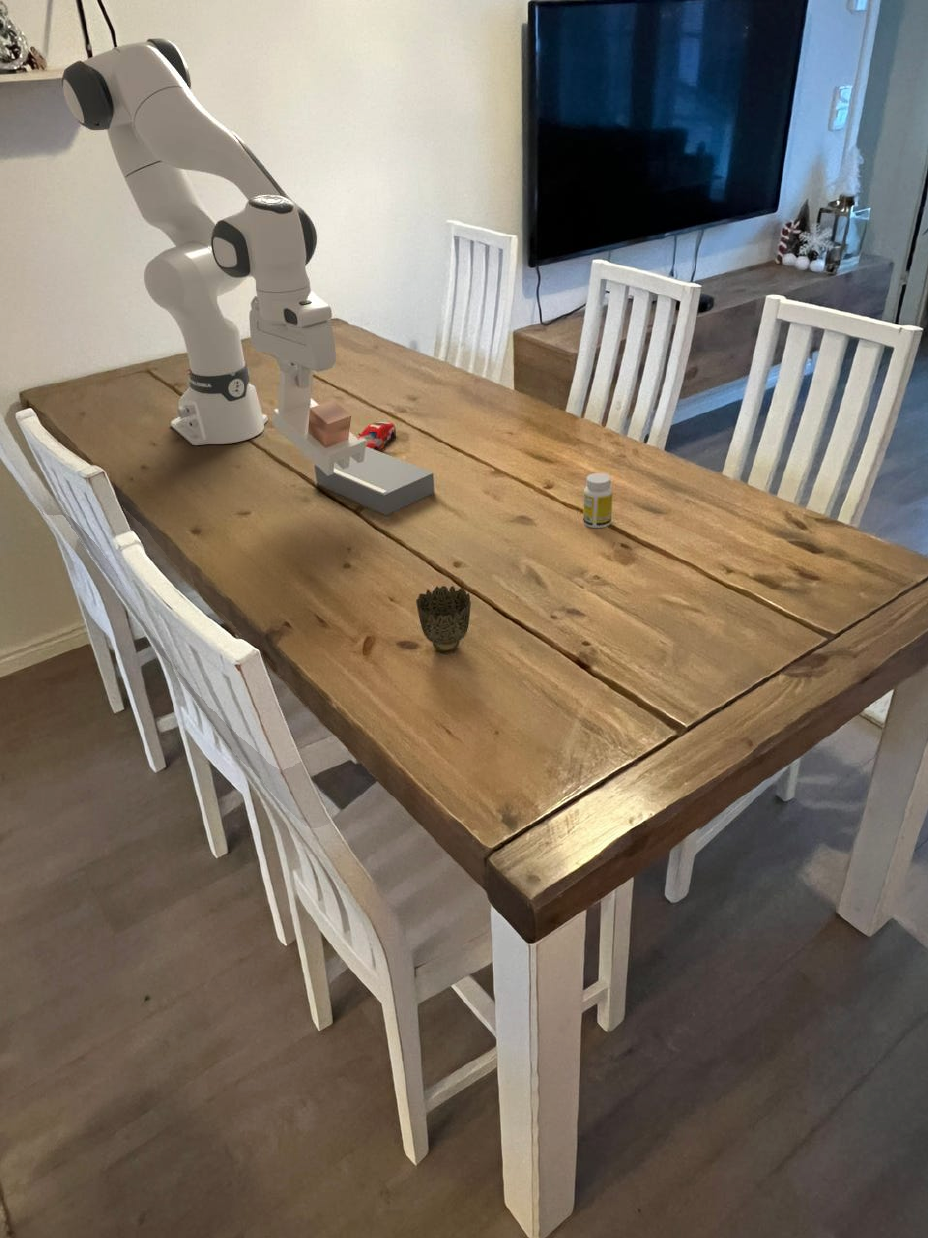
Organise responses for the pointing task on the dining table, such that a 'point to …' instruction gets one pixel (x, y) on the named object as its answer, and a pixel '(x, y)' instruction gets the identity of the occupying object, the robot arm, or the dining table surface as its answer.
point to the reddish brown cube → (329, 423)
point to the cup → (444, 616)
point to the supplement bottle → (597, 501)
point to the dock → (379, 482)
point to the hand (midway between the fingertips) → (296, 384)
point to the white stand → (295, 421)
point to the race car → (378, 435)
